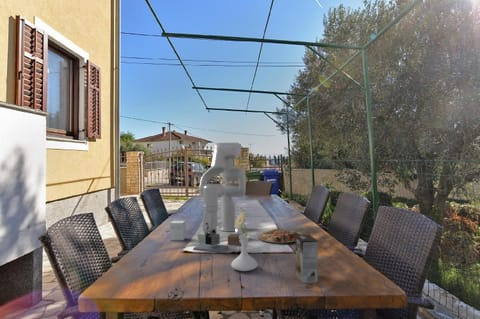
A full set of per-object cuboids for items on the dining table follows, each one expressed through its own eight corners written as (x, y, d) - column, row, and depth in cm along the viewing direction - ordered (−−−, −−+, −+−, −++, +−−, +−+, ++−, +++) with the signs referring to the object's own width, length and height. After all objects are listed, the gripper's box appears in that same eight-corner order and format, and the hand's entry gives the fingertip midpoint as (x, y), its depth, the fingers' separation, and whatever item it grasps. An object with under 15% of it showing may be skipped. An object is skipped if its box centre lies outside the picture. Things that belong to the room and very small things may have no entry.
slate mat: (200, 244, 155) (200, 243, 155) (227, 247, 151) (227, 245, 151) (193, 249, 147) (193, 247, 147) (222, 252, 142) (222, 250, 142)
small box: (186, 238, 170) (185, 220, 170) (183, 240, 164) (183, 222, 164) (173, 237, 171) (173, 220, 171) (170, 240, 165) (169, 222, 165)
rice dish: (250, 243, 163) (250, 233, 163) (268, 230, 187) (268, 222, 187) (297, 250, 150) (297, 239, 150) (310, 235, 174) (310, 226, 174)
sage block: (202, 239, 166) (202, 231, 166) (210, 240, 165) (210, 232, 165) (198, 242, 160) (198, 233, 160) (206, 243, 159) (206, 234, 159)
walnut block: (231, 242, 161) (231, 233, 161) (239, 242, 159) (239, 234, 159) (227, 245, 155) (227, 236, 155) (236, 245, 154) (236, 236, 154)
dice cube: (206, 243, 148) (206, 234, 148) (213, 241, 152) (213, 232, 152) (212, 245, 145) (212, 236, 145) (219, 243, 148) (219, 234, 148)
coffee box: (295, 273, 115) (294, 234, 115) (310, 273, 115) (310, 233, 115) (301, 283, 106) (301, 240, 106) (318, 282, 106) (318, 239, 106)
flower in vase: (232, 263, 127) (231, 208, 127) (257, 263, 126) (256, 208, 126) (230, 275, 114) (229, 213, 114) (258, 275, 113) (257, 213, 113)
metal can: (236, 237, 171) (236, 227, 171) (244, 237, 169) (244, 227, 169) (234, 239, 166) (234, 229, 166) (242, 240, 165) (242, 229, 165)
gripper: (210, 205, 158) (210, 237, 158) (197, 211, 142) (197, 246, 142) (222, 206, 156) (223, 238, 156) (210, 211, 140) (211, 247, 140)
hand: (210, 242), depth 149 cm, fingers closed on dice cube, 6 cm apart
